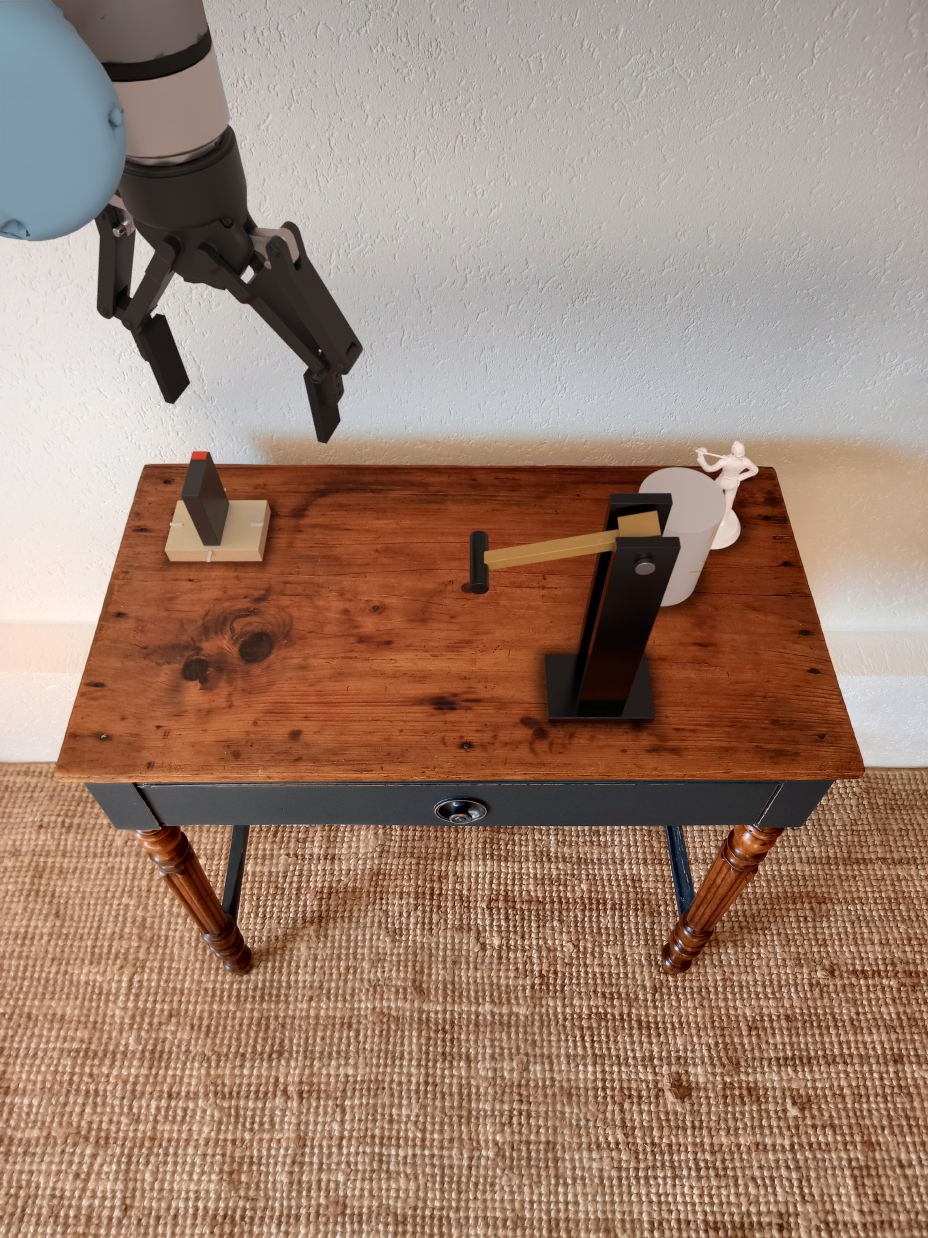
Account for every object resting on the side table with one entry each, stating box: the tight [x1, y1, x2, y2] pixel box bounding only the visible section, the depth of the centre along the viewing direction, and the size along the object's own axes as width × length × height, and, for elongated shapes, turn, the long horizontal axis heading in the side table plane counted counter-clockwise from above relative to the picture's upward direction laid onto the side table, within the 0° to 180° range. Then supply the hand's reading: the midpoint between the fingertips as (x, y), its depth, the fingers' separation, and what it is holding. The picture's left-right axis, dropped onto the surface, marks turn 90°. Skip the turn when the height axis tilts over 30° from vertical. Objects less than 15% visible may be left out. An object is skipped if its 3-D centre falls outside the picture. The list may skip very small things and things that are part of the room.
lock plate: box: [164, 487, 272, 563], centre depth 88 cm, size 10×10×2 cm
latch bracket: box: [543, 492, 681, 724], centre depth 67 cm, size 10×7×26 cm
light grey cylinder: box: [638, 466, 726, 607], centre depth 80 cm, size 8×8×12 cm
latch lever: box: [469, 511, 661, 595], centre depth 59 cm, size 14×5×2 cm, turn 90°
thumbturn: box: [180, 450, 229, 546], centre depth 84 cm, size 6×2×8 cm, turn 179°
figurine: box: [694, 440, 759, 550], centre depth 84 cm, size 7×7×12 cm
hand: (252, 411), depth 64 cm, fingers open, 13 cm apart
